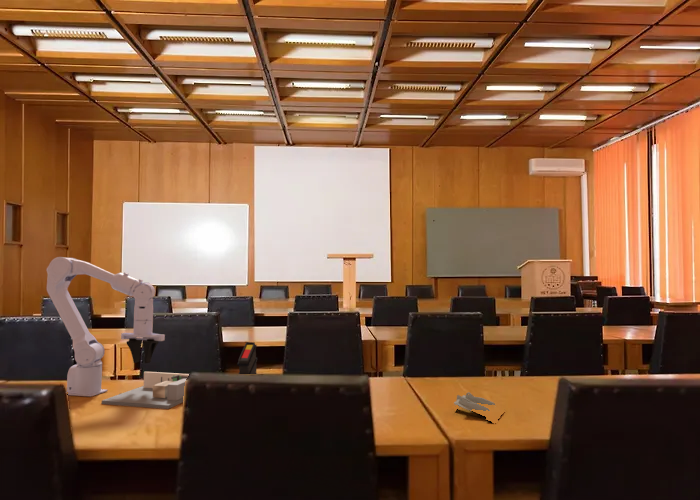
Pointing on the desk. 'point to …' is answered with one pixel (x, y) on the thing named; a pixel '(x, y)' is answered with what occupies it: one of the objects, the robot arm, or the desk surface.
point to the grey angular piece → (472, 402)
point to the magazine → (248, 359)
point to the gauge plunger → (162, 388)
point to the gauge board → (145, 393)
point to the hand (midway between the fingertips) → (141, 362)
